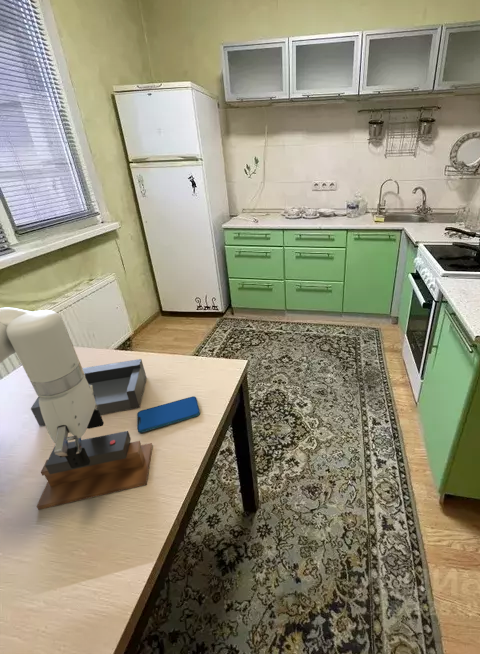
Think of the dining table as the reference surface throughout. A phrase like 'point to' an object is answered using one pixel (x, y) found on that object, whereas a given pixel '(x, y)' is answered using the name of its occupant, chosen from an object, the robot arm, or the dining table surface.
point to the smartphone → (167, 414)
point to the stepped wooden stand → (97, 478)
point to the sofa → (111, 387)
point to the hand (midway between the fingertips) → (89, 444)
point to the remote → (94, 451)
